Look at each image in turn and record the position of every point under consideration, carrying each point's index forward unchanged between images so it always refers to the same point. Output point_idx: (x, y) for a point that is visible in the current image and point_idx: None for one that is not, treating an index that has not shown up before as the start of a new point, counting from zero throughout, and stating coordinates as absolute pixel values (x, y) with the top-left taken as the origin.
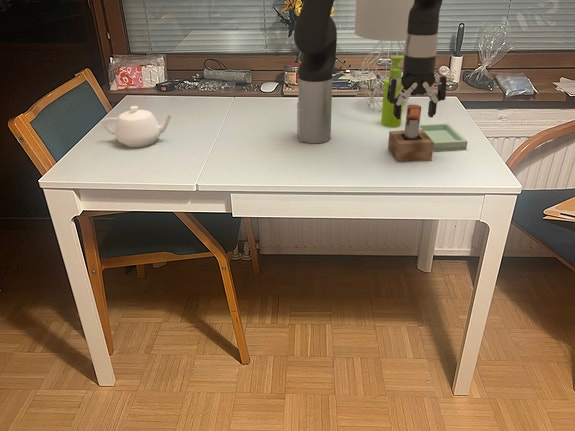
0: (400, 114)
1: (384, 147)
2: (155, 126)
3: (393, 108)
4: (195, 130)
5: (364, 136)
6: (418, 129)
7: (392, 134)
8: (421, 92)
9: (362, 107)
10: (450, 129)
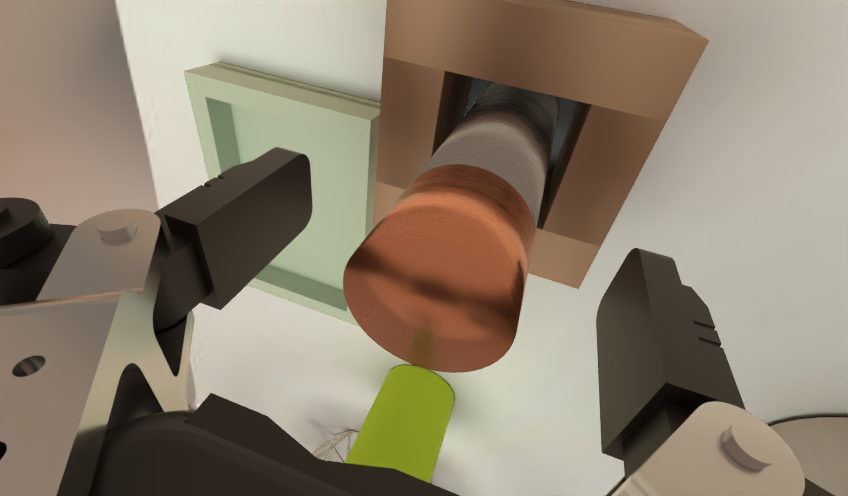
0: (648, 280)
1: None
2: None
3: (404, 440)
4: None
5: (589, 368)
6: (448, 138)
7: (599, 239)
8: (221, 464)
9: None
10: None
